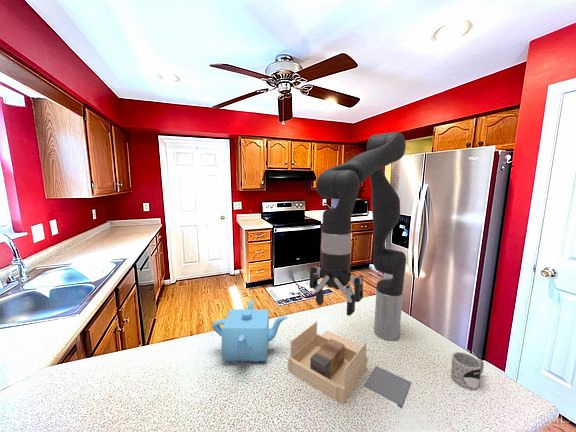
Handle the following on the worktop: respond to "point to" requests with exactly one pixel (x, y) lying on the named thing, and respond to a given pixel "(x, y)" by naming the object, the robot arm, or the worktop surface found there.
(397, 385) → the mat
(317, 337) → the carton
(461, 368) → the mug
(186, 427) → the worktop surface
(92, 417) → the worktop surface
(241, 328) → the teakettle
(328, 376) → the bar
